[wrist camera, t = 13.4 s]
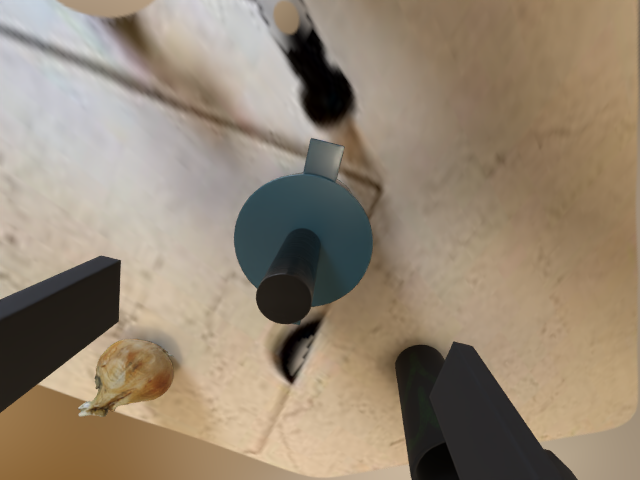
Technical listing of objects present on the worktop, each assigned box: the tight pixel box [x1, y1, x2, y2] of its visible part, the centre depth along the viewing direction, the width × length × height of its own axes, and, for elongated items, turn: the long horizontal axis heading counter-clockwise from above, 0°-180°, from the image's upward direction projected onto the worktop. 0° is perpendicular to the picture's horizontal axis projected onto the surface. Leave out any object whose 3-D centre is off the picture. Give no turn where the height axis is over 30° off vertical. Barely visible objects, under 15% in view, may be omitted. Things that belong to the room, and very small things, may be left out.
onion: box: [78, 339, 174, 417], centre depth 32 cm, size 8×8×8 cm
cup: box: [395, 345, 460, 480], centre depth 28 cm, size 8×8×12 cm
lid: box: [234, 174, 373, 324], centre depth 18 cm, size 10×10×9 cm
